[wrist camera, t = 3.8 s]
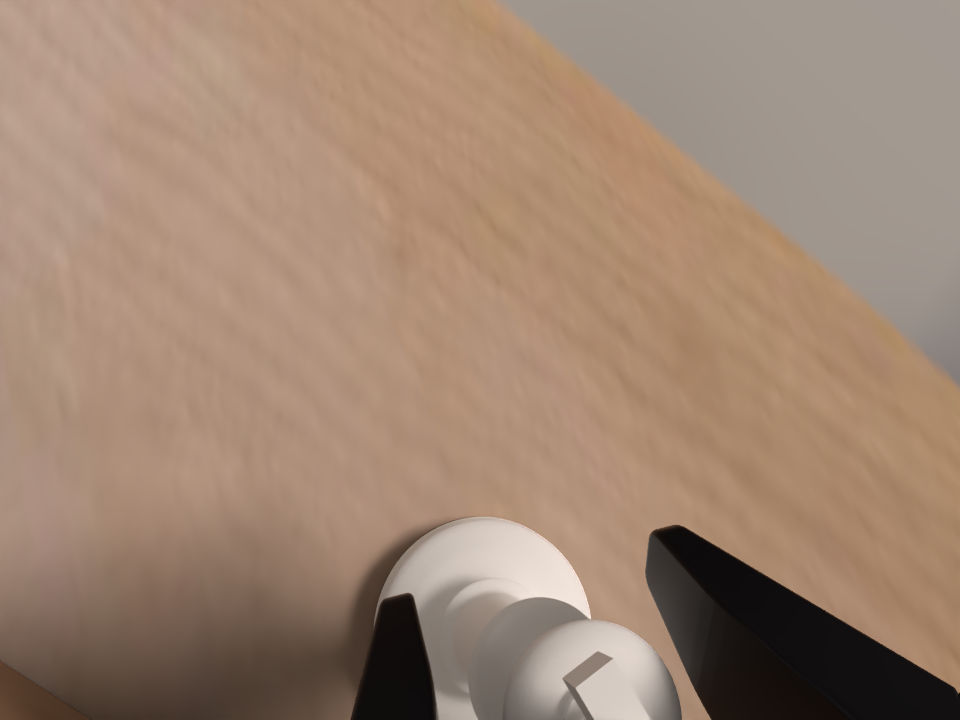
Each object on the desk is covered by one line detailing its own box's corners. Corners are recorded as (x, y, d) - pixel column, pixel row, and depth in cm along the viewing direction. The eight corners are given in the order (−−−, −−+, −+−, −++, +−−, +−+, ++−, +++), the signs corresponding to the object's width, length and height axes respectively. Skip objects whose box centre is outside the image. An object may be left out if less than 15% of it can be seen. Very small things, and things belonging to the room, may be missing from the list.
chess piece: (446, 801, 13) (609, 1434, 4) (333, 592, 14) (235, 692, 5) (626, 661, 15) (1076, 874, 5) (513, 478, 15) (725, 372, 6)
